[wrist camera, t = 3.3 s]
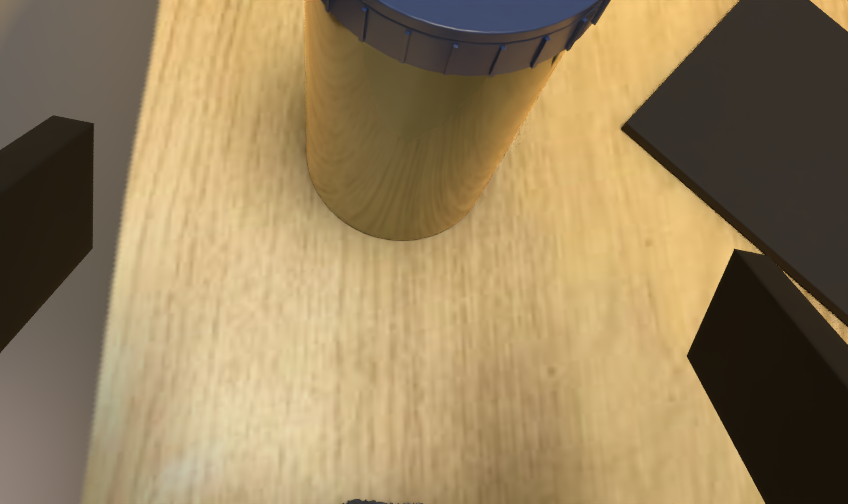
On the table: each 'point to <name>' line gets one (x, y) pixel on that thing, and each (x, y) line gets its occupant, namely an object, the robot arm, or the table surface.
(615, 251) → the table surface
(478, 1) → the lid
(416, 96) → the jar
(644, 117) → the mat
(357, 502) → the toy car
